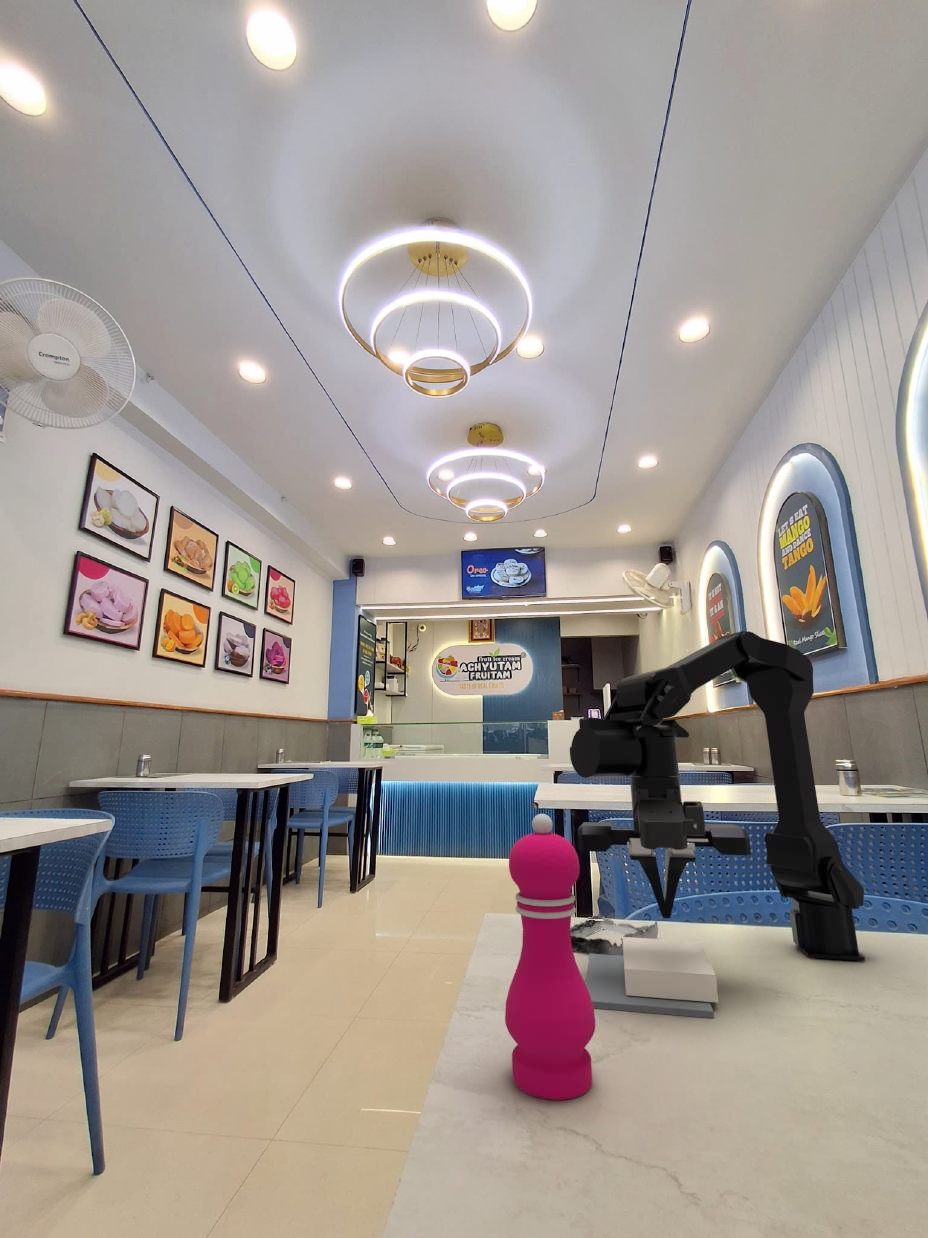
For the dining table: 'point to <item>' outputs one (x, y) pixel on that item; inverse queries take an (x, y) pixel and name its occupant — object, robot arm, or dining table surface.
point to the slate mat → (611, 994)
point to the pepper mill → (548, 972)
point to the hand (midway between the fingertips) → (666, 918)
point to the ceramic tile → (668, 970)
